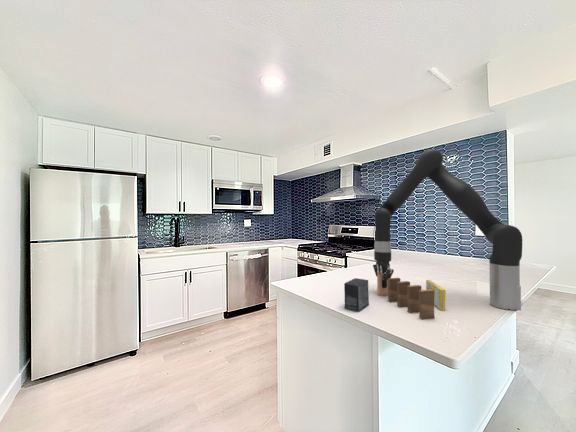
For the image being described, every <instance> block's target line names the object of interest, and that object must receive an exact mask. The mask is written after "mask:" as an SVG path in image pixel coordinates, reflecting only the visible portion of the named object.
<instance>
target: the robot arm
mask: <svg viewBox="0 0 576 432" xmlns="http://www.w3.org/2000/svg"><path fill="white" fill-rule="evenodd" d="M443 157H444V156H443V154H442V152H441V151H439V150H437V149H433V148H431V149H427V150H425V151H424V152H421V154H420V156H419V157H418V159H417V161H416V164H415V165H414V167H413V169H411V171H410V172H409V174H408V175H407V176H406V177H405V178H404V179H403V180H402V181H401V182H400V183H399V184H398V185H397V187H395V189H394V190H393V191H392V192H391V193H390V195H389V196H388V197H387V198H386V200H385V201H384V202H383V204H381V205H380V207H379V208H377V210H376V211H375V212H374V225H375V226H374V227H375V229H374V244H373V247H374V248H373V253H374V255H373V256H374V257H373V258H374V261H376V262H375V264H373V265H372V268H373V272H374V274H375V276H376V277H377V273H381V275H382V288H387V280H388V278H392V276H393V274H394V271H395V270H394V269H393V268H391V267H390V266H391V264H390V262H391V261H392V241H391V240H392V239H391V235H392V234H391V224H392V223H391V222H392V216H393V215H394V213H395V212H396V211H397V210H398V209H400V208H401V207H402V206H403V205H404V204H405V202H407V200H408V199H409V198H410V197H411V195H412V194H413V193H414V192H415V190H416V189H417V187H418V186H419V185H420V184H421V183H422V182H423V180H424V179H426V177H427V178H428V179H430V181H432V182H433V183H434V184H435V185H436V186H437V187H438V188H439V189H440V191H441V192H442V193H443V194H444V195H445V196H446V198H448V200H449V201H450V202H451V203H452V204H453V205H454V206H455V207H456V208H457V209H458V210H460V212H462V214H464V215H465V216H466V217H467V218H468V219H469V220H471V222H473V223H474V225H475V226H476V227H477V228H478V229H479V230H480V233H482V234H483V236H484V237H485V238H486V239H487V241H488V242H489V243H491V244H492V251H491V252H492V253H491V254H490V256H489V265H488V266H489V305H491V306H493V307H496V308H498V309H503V310H508V309H510V310H509V311H522V297H521V296H522V286H521V283H520V281H521V280H520V277H521V275H520V273H521V272H520V271H521V270H520V269H521V268H520V265H521V264H520V263H521V260H522V256H523V235H522V232H521V230H520V229H519V228H518V227H517V226H514V225H512V224H511V225H510V224H505V223H503V222H502V221H500V220H499V219H498V218H497V217H496V216H495V215H494V214H493V213H492V212H491V211H490V210H489V208H488V206H487V205H486V202H485V201H484V199H483V197H482V196H481V195H480V194H479V193H478V192H477V191H476V190H475V189H474V188H473V187H472V186H471V185H470V184H469V183H467V182H465V181H464V180H463V179H462V178H461V179H460V178H459V177H457V176H456V175H454V174H452V173H451V172H450V171H448V170H447V169H446V167H445V166H444V165H443V160H444V159H443ZM384 275H385V277H384Z"/></svg>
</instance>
